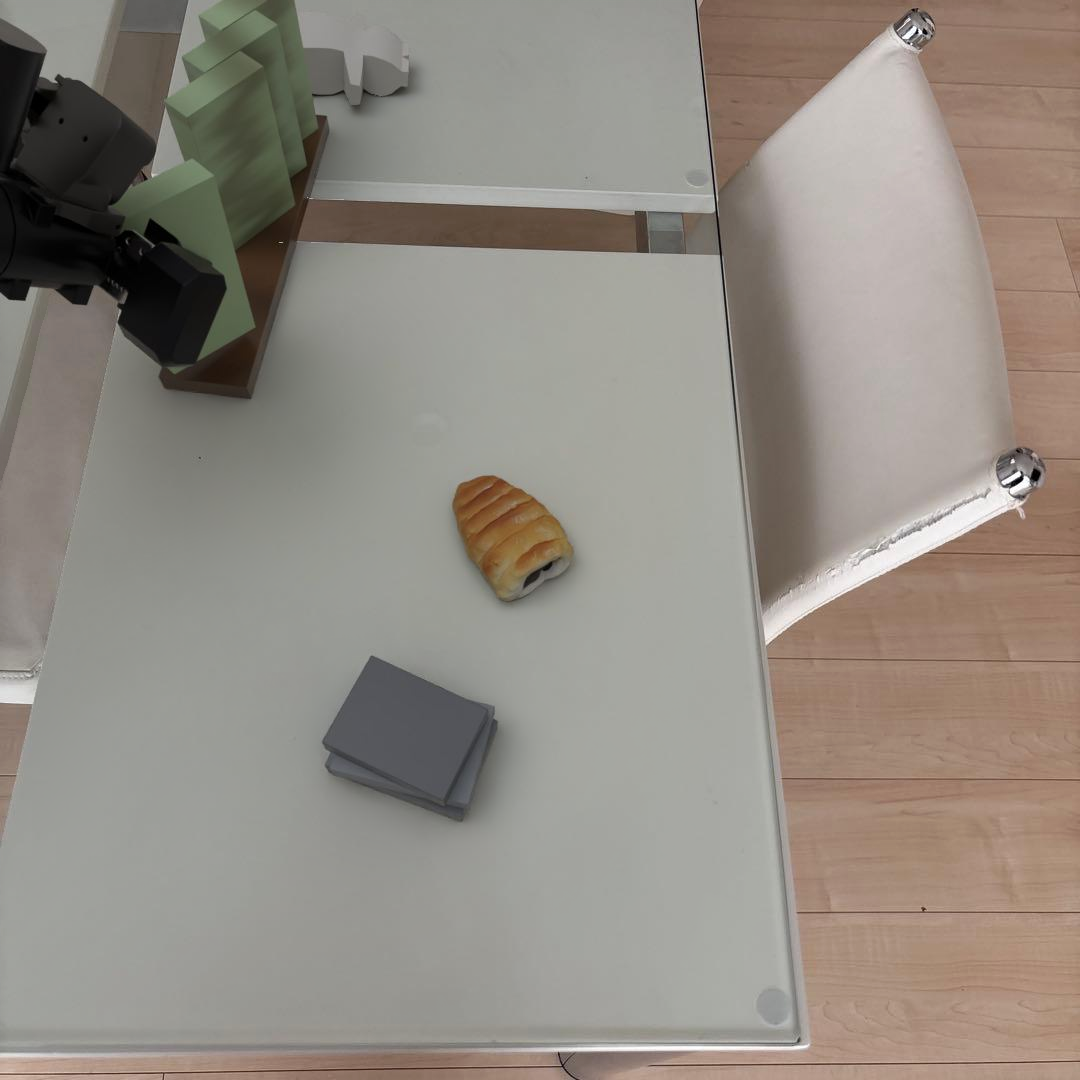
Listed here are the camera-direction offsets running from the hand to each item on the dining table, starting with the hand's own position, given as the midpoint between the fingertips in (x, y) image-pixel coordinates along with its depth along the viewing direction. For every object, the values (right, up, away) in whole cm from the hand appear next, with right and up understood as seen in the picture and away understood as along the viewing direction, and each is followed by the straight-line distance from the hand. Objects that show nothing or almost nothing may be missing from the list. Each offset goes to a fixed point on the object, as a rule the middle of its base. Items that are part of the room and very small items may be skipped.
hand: (193, 257), depth 65 cm
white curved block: (+4, +23, +23) cm, 33 cm away
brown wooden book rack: (0, +5, +14) cm, 15 cm away
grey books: (+15, -32, -3) cm, 36 cm away
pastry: (+21, -20, +3) cm, 29 cm away
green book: (-1, -5, +5) cm, 7 cm away
